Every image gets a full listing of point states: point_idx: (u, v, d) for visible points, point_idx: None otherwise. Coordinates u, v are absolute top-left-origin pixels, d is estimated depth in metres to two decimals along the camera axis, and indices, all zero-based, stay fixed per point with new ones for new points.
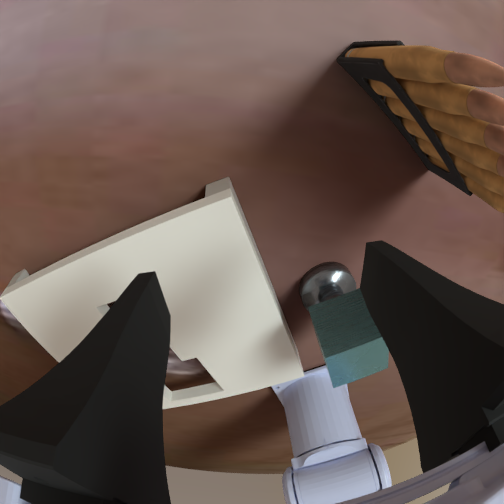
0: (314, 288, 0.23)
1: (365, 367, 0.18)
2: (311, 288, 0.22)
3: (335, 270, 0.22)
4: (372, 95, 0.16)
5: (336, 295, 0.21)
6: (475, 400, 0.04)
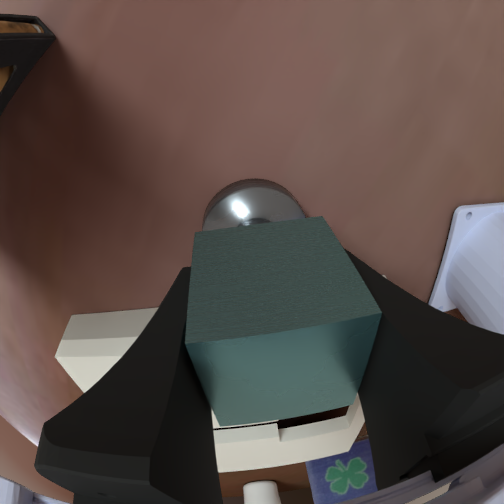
0: None
1: (317, 371, 0.07)
2: None
3: (202, 227, 0.12)
4: None
5: None
6: (418, 426, 0.04)
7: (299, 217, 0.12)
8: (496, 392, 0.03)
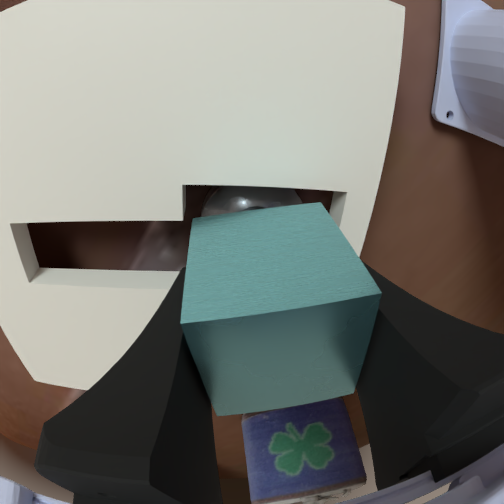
0: None
1: (316, 356, 0.07)
2: None
3: None
4: None
5: None
6: (418, 426, 0.04)
7: None
8: (496, 392, 0.03)
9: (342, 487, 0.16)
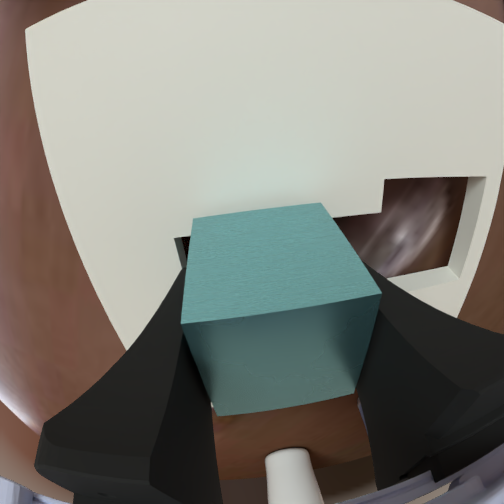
0: None
1: (316, 356, 0.07)
2: None
3: None
4: None
5: None
6: (418, 426, 0.04)
7: None
8: (496, 392, 0.03)
9: None
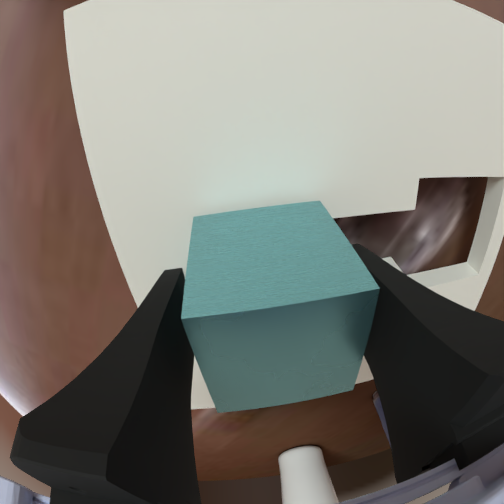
0: None
1: (315, 352, 0.07)
2: None
3: None
4: None
5: None
6: (444, 415, 0.04)
7: None
8: None
9: None
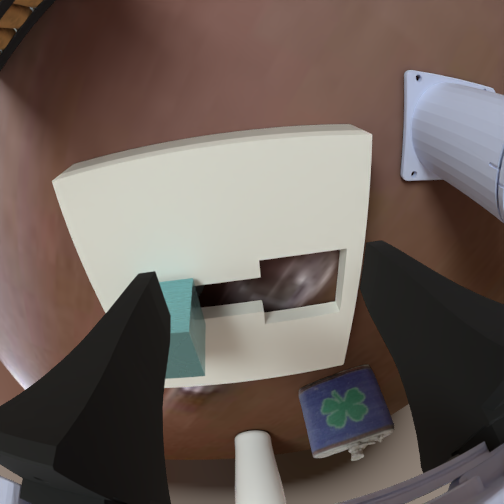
0: None
1: (173, 354, 0.16)
2: None
3: None
4: (17, 40, 0.11)
5: None
6: (475, 400, 0.04)
7: None
8: None
9: (376, 433, 0.25)
